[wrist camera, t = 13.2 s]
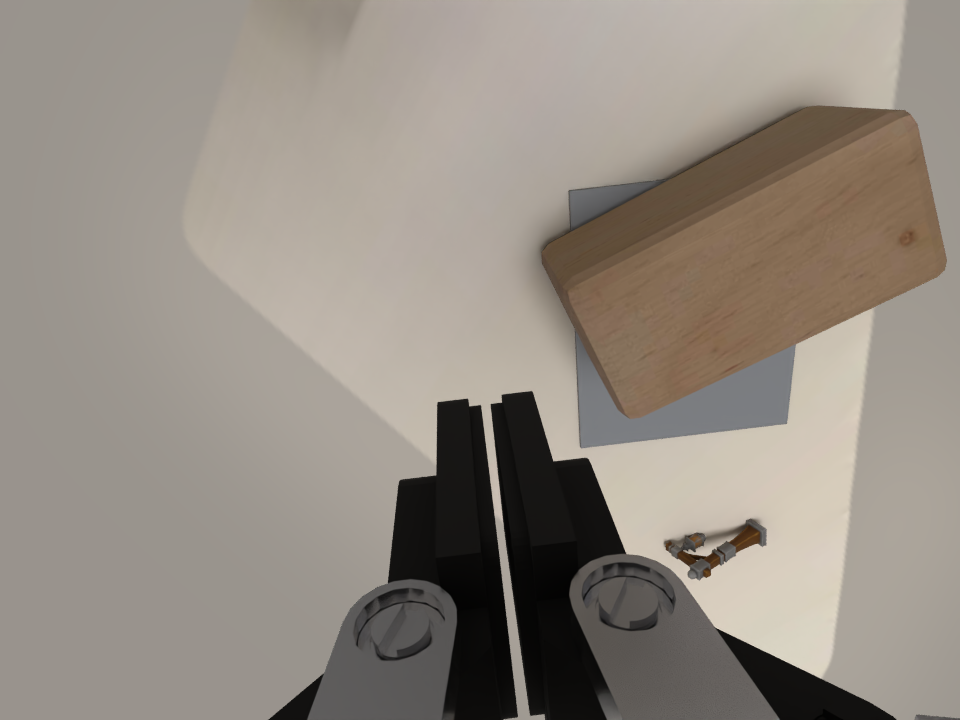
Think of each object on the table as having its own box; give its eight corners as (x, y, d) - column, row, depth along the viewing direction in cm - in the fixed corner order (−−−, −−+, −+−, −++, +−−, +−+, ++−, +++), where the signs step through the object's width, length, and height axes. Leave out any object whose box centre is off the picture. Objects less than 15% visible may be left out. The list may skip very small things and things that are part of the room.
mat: (568, 190, 42) (569, 191, 42) (813, 162, 42) (815, 163, 42) (580, 446, 50) (580, 448, 50) (784, 421, 50) (786, 423, 50)
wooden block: (628, 430, 38) (959, 274, 35) (558, 290, 34) (923, 102, 31) (592, 363, 47) (851, 235, 44) (533, 246, 43) (813, 98, 40)
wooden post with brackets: (656, 543, 53) (696, 574, 50) (726, 503, 56) (768, 530, 52) (658, 559, 54) (697, 591, 50) (726, 519, 57) (768, 546, 53)
